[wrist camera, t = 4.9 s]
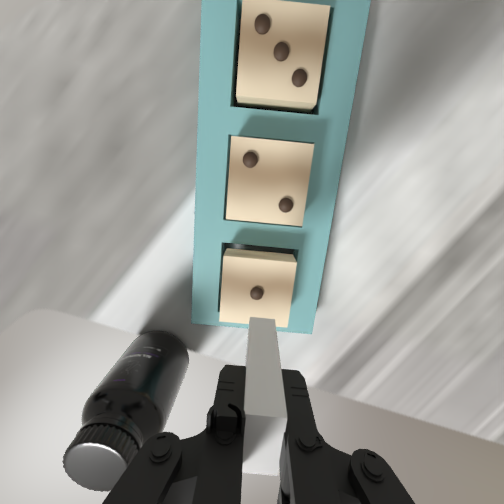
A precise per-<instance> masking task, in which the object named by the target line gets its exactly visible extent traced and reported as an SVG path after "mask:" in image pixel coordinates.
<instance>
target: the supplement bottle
mask: <svg viewBox="0 0 504 504" xmlns="http://www.w3.org/2000/svg"><path fill="white" fill-rule="evenodd" d="M188 363H189V357H188V352H187V349H186V347H185V346H184V344H183V343H182V342H181V341H180V340H179V339H178V338H177V337H175V336H174V335H172V334H169V333H167V332H162V331H151V332H147V333H144V334H142V335H140V336H139V337H138V338H136V339H135V340H134V341H133V343H132V344H131V345H130V346H129V347H128V349H127V350H126V351H125V352H124V354H123V355H122V356H121V358H120V359H119V360H118V361H117V363H116V364H115V365H114V366H113V368H112V369H111V370H110V371H109V373H108V374H107V375H106V376H105V378H104V379H103V380H102V381H101V383H100V384H99V385H98V386H97V388H96V389H95V390H94V392H93V393H92V394H91V396H90V397H89V398H88V400H87V401H86V403H85V405H84V408H83V412H82V428H81V429H80V430H79V432H78V433H77V435H76V437H75V439H74V440H73V441H72V443H71V444H70V445H69V447H68V448H67V450H66V452H65V454H64V456H63V459H64V460H63V464H64V465H63V467H64V468H65V472H66V473H67V474H68V476H69V477H70V478H71V479H72V480H73V481H75V482H76V483H77V484H79V485H81V486H82V487H85V488H87V489H90V490H94V491H110V490H112V489H113V487H114V486H115V484H116V483H117V481H118V480H119V479H120V477H121V476H122V474H123V473H124V471H125V470H126V468H127V467H128V466H129V464H130V463H131V461H132V460H133V458H134V457H135V455H136V454H137V453H138V451H139V450H140V448H141V447H142V445H143V444H144V443H145V442H146V441H147V440H148V439H149V438H150V437H152V436H154V435H155V434H157V433H162V432H163V430H164V427H165V425H166V422H167V420H168V417H169V414H170V412H171V409H172V407H173V404H174V402H175V399H176V397H177V394H178V391H179V389H180V386H181V384H182V381H183V379H184V376H185V373H186V370H187V368H188Z"/></svg>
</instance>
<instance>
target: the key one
mask: <svg viewBox="0 0 504 504" xmlns="http://www.w3.org/2000/svg"><path fill="white" fill-rule="evenodd" d="M296 266H297V262H296V260H295V258H294V256H293V254H284V253H274V252H263V251H252V250H242V249H231V248H227V249H226V251H225V253H224V256H223V271H222V286H221V301H220V316H219V322H231V323H242V324H249V319H250V317H257V318H268V319H275V324H276V327H286V328H287V327H288V320H289V314H290V307H291V300H292V293H293V286H294V280H295V273H296Z"/></svg>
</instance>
